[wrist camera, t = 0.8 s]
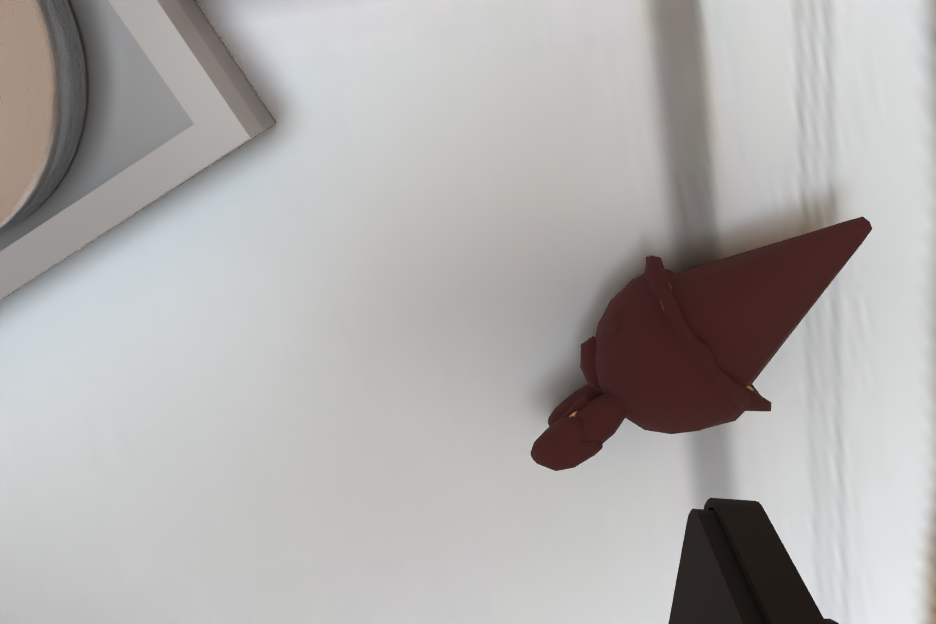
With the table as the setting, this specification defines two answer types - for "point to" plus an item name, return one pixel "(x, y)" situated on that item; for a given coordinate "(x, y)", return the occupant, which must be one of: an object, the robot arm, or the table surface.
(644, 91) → the table surface
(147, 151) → the tray
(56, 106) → the dial
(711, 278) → the icecream
